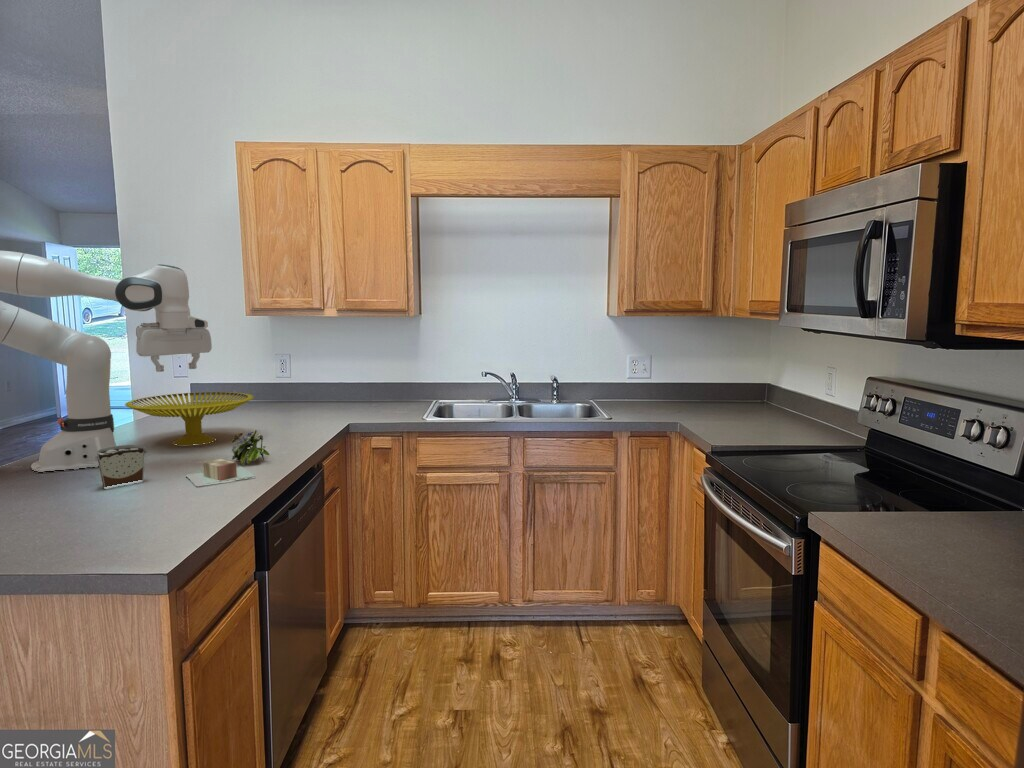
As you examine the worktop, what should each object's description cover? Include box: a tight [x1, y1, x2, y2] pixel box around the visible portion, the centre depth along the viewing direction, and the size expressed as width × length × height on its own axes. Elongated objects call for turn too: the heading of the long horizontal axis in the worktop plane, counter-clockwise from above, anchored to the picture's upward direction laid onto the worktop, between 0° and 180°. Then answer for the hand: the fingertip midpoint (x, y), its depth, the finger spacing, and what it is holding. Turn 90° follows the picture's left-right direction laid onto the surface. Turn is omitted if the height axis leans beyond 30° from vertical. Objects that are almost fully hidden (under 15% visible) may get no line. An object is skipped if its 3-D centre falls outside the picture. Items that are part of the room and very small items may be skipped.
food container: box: [95, 444, 148, 488], centre depth 173 cm, size 12×6×10 cm, turn 141°
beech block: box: [202, 458, 237, 481], centre depth 179 cm, size 5×4×8 cm
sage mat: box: [185, 466, 256, 484], centre depth 180 cm, size 15×13×1 cm
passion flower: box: [230, 429, 270, 466], centre depth 198 cm, size 11×11×12 cm
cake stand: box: [124, 391, 255, 445], centre depth 225 cm, size 40×40×15 cm
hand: (176, 370), depth 187 cm, fingers open, 8 cm apart
